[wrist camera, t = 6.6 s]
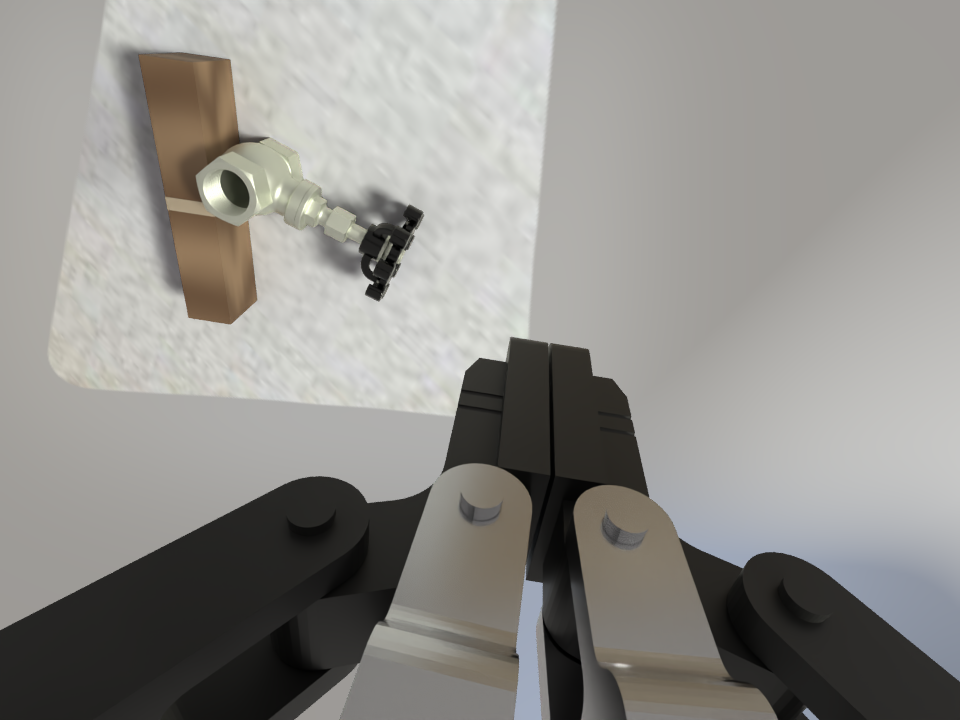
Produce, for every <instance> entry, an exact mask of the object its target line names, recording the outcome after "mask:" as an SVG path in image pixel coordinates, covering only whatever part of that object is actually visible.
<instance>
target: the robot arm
mask: <svg viewBox="0 0 960 720" xmlns="http://www.w3.org/2000/svg"><path fill="white" fill-rule="evenodd" d="M634 433H635V431H634V427H633V422H632V420H631V413H630V409H629V404H628V400H627V397H626V395H625V394H624V393H623V392H622V390H621V389H620V388H619V387H618V385H617V384H616V383H615V382H614V381H613V379H609V378H602V377H597V376H593V374H592V368H591V360H590V353H589V350H588V349H584V348H578V347H572V346H565V345H559V344H553V343H551V344H550V345H549V348H548V343H546V342H539V341H533V340H527V339H521V338H514V337H510V342H509V347H508V352H507V358H506V362H502V361H496V360H489V359H483V358H479V359H478V360H477V361H476V362H475V363H474V364H473V365H472V366H471V367H470V368H468V369H467V370H466V371H465V375H464V380H463V384H462V389H461V393H460V398H459V402H458V408H457V411H456V416H455V421H454V425H453V430H452V434H451V438H450V443H449V448H448V452H447V457H446V461H445V465H444V468H443V471H442V474H441V475H440V477H438V478H437V480H436V481H435V483H434V484H432V485H431V486H430V487H429V488H427V489H426V490H424V491H423V492H421V493H419V494H416V495H414V496H411V497H408V498H405V499H400V500H394V501H384V502H374V503H367V502H366V500H365V498H364V496H363V495H362V494H361V493H360V491H359V490H357V489H356V488H355V487H354V486H352V485H351V484H349V483H347V482H345V481H342V480H339V479H336V478H331V477H322V476H318V477H307V478H302V479H298V480H295V481H291V482H289V483H287V484H284V485H282V486H280V487H278V488H276V489H274V490H272V491H270V492H269V493H267V494H265V495H263V496H261V497H259V498H257V499H255V500H253V501H251V502H249V503H247V504H245V505H244V506H241V507H239V508H238V509H235V510H234V511H232V512H230V513H228V514H226V515H224V516H222V517H220V518H218V519H216V520H214V521H212V522H210V523H208V524H206V525H204V526H202V527H200V528H199V529H197V530H195V531H193V532H191V533H189V534H187V535H185V536H183V537H181V538H179V539H177V540H175V541H173V542H172V543H169V544H167V545H165V546H164V547H161V548H160V549H158V550H156V551H154V552H152V553H150V554H148V555H146V556H144V557H142V558H140V559H138V560H136V561H134V562H132V563H130V564H128V565H127V566H125V567H123V568H121V569H119V570H117V571H115V572H113V573H111V574H109V575H107V576H105V577H103V578H101V579H99V580H97V581H95V582H94V583H91V584H90V585H88V586H86V587H84V588H82V589H80V590H78V591H76V592H74V593H72V594H70V595H68V596H66V597H64V598H62V599H60V600H58V601H56V602H54V603H53V604H51V605H49V606H47V607H45V608H43V609H41V610H39V611H37V612H35V613H33V614H31V615H29V616H27V617H25V618H23V619H21V620H19V621H17V622H15V623H14V624H12V625H10V626H8V627H6V628H4V629H2V630H0V720H294V719H295V718H297V717H298V716H299V715H300V714H301V713H303V712H304V711H305V710H306V709H307V708H309V707H310V706H311V705H312V704H313V703H315V702H316V701H317V700H318V699H319V698H321V697H322V696H323V695H324V694H325V693H327V692H328V691H329V690H330V689H331V688H332V687H334V686H335V685H336V684H337V683H339V682H340V681H341V680H342V679H343V678H345V677H346V676H347V675H348V674H349V673H350V672H351V671H352V670H353V669H354V668H355V667H356V665H357V664H358V663H360V664H359V667H358V670H357V673H356V675H355V678H354V681H353V684H352V686H351V689H350V692H349V695H348V698H347V700H346V703H345V706H344V708H343V711H342V714H341V717H340V720H514V712H515V703H516V694H517V684H518V673H519V655H518V654H516V642H517V633H518V625H519V616H520V608H521V600H522V591H523V583H524V575H525V566H526V580H529V581H535V582H541V583H543V605H542V608H541V611H540V615H539V618H538V621H537V626H536V638H537V652H538V668H539V684H540V700H541V715H542V720H809V719H808V718H807V717H806V716H805V715H804V714H803V713H802V712H803V711H804V710H805V709H806V708H808V709H809V710H810V711H811V712H812V713H813V714H814V715H815V716H816V717H817V718H818V719H819V720H960V682H959V681H958V680H957V679H956V678H954V677H953V676H952V675H951V674H949V673H948V672H947V671H946V670H944V669H943V668H942V667H941V666H940V665H938V664H937V663H936V662H935V661H933V660H932V659H931V658H930V657H929V656H927V655H926V654H925V653H924V652H922V651H921V650H920V649H919V648H918V647H916V646H915V645H914V644H913V643H911V642H910V641H909V640H907V639H906V638H905V637H904V636H903V635H902V634H900V633H899V632H898V631H897V630H895V629H894V628H893V627H892V626H890V625H889V624H888V623H887V622H886V621H884V620H883V619H882V618H881V617H879V616H878V615H877V614H876V613H875V612H873V611H872V610H871V609H870V608H868V607H867V606H866V605H865V604H863V603H862V602H861V601H860V600H859V599H857V598H856V597H855V596H854V595H852V594H851V593H850V592H849V591H847V590H846V589H845V588H844V587H843V586H841V585H840V584H839V583H838V582H836V581H835V580H834V579H833V578H832V577H830V576H829V575H827V574H826V573H825V572H823V571H822V570H820V569H819V568H817V567H815V566H814V565H812V564H810V563H808V562H806V561H804V560H802V559H800V558H797V557H794V556H791V555H787V554H783V553H776V552H766V553H762V554H758V555H756V556H754V557H752V558H751V559H750V560H749V561H748V562H747V563H746V565H745V567H744V568H740V567H738V566H736V565H733V564H731V563H729V562H727V561H724V560H722V559H720V558H717V557H715V556H713V555H710V554H708V553H706V552H703V551H701V550H699V549H697V548H695V547H693V546H691V545H689V544H688V543H686V542H685V541H683V540H682V539H680V538H679V537H678V535H677V532H676V529H675V527H674V525H673V522H672V521H671V519H670V518H669V516H668V515H667V514H666V512H665V511H664V510H663V509H662V508H661V507H660V506H659V505H658V504H657V503H655V502H654V501H653V500H651V499H650V498H649V494H648V489H647V485H646V481H645V476H644V472H643V467H642V463H641V458H640V454H639V449H638V445H637V440H636V437H635V436H634ZM526 562H527V563H526Z"/></svg>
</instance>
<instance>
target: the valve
mask: <svg viewBox="0 0 960 720" xmlns="http://www.w3.org/2000/svg"><path fill="white" fill-rule="evenodd" d="M196 181H197V186H198V190H199V194H200V197H201V199H202V202H203V204H204V207H205V209H206V210H207V211H208V212H210V213H211V214H213V215H214V216H216V217H218V218H220V219H222V220H224V221H226V222H228V223H231V224H233V225H236V226H240V225H241V224H243V223H244V222H246V221H248V220H249V219H251V218H252V217H254V216H262V215H267V214H270V213H273V212H276V213H279V214H280V215H282V216H284V221H285V223H286V224H288V225H290V226H292V227H294V228H296V229H298V230H303V229H304V228H305V227H306V226H307V225H309V226H311V227H316V226H317V225H318V224H320V225H322V226H324V227H325V229H324V234H326V235H328V236H330V237H332V238H334V239H336V240H337V241H339V242H341V243H343V242H345V241H346V240H347V239H348V238H349V239H351V240H353V241H355V242H357V243H359V244H360V247H359V253H361V254H363V257H362V260H361V269H362V272H363V274H364V275H365V276H366V277H367V278H368V279H369V280H371V281H373V282H374V283H373V285H371V284H369V286H368V288H367V290H366V292H365V295H366V296H368V297H370V298H372V299H374V300H376V301H378V302H379V301H380V300H381V299H382V298H383V297H384V296H385V294H386V292H387V290H388V288H389V282H390V280H391V278H392V277H393V278H394V277H395V276H396V274H397V272H398V270H399V268H400V265H401V263H400V262H401V260H402V258H403V256H404V254H405V251H406V250H408V249H409V248H410V246H411V244H412V242H413V240H414V237H415V236H414V235H413V234H414V232H415V230H417V229H418V227H419V225H420V223H421V221H422V219H423V217H424V214H423V211H421V210H419V209H417V208H415V207H414V206H412V205H408V207H407V209H406V211H405V213H404V215H403V216H404V217H406V219H407V221H406V222H405V224H404V226H403V227H402V228H401V227H399V226H394V225H392V224H389V223H381V224H379V225H378V226H376V225H374V224H372V225H371V226H370V227H369V228H368V230H366V229H364V228H362V227H361V226H359V225H357V224H355V222H356V216H355V215H353V214H352V213H350V212H348V211H346V210H344V209H342V208H340V207H338V206H337V207H336V208H335V209H333V210H331V209H329V208H328V207H327V200H325V199H323V198H322V197H321V194H322V189H321V187H320V186H318V185H316V184H314V183H312V182H310V181H309V180H307V179H305V180H304V179H303V174H302V169H301V164H300V159H299V155H298V153H297V152H296V151H294V150H292V149H290V148H289V147H287V146H285V145H283V144H281V143H279V142H278V141H276V140H274V139H272V138H268V139H265V140H262V141H260V142H258V143H253V142H247V143H241V144H237V145H235V146H233V147H231V148H229V149H228V150H227V151H226V152H225V153H224V154H223V155H222V156H219V157H218V158H216V159H215V160H214V161H212V162H211V163H210V164H209V165H207V166H206V167H205V168H204V169H202V170H201V171H200V172H199V173H198V174H197V175H196ZM408 220H409V221H408ZM372 259H373V260H375V261H376V262H378V263H377V265H376V267H375V269H374V271H373V272H372V271H371V270H370V267H369V265H370V262H371V260H372Z"/></svg>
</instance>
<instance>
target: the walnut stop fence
mask: <svg viewBox="0 0 960 720" xmlns="http://www.w3.org/2000/svg"><path fill="white" fill-rule="evenodd" d="M138 56H139V61H140V66H141V71H142V76H143V82H144V87H145V92H146V97H147V103H148V108H149V113H150V118H151V124H152V129H153V134H154V139H155V144H156V150H157V155H158V160H159V165H160V171H161V176H162V181H163V186H164V192H165V200H166V205H167V210H168V212H169V218H170V223H171V228H172V233H173V239H174V244H175V249H176V254H177V260H178V265H179V270H180V275H181V280H182V286H183V291H184V296H185V301H186V307H187V312H188V317H189V318H193V319H199V320H206V321H212V322H219V323H225V324H232V323H233V322H234V321H235V320H236V319H237V318H238V317H239V316H240V315H242V314H243V313H244V312H245V311H246V310H247V309H248V308H249V307H250V306H251V305H252V304H254V303H255V302H256V301H257V294H256V285H255V276H254V267H253V258H252V249H251V240H250V232H249V223H248V221H246V222H244V223H243V224H241V225H240V226H236V225H233V224H231V223H228V222H226V221H224V220H222V219H220V218H218V217H216V216H214V215H213V214H211V213H210V212H208V211H207V210H206V209H205V207H204V204H203V202H202V199H201V197H200V194H199V190H198V186H197V181H196V175H197V174H198V173H199V172H200V171H201V170H202V169H204V168H205V167H206V166H207V165H209V164H210V163H211V162H212V161H214V160H215V159H216V158H218V157H219V156H222V155H223V154H224V153H225V152H226V151H227V150H228V149H229V148H231V147H233V146H235V145H237V144H240V142H239V134H238V125H237V116H236V107H235V98H234V89H233V80H232V71H231V62H230V60H229V59H222V58H215V57H209V56H202V55H195V54H188V53H161V54H139V55H138Z"/></svg>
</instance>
